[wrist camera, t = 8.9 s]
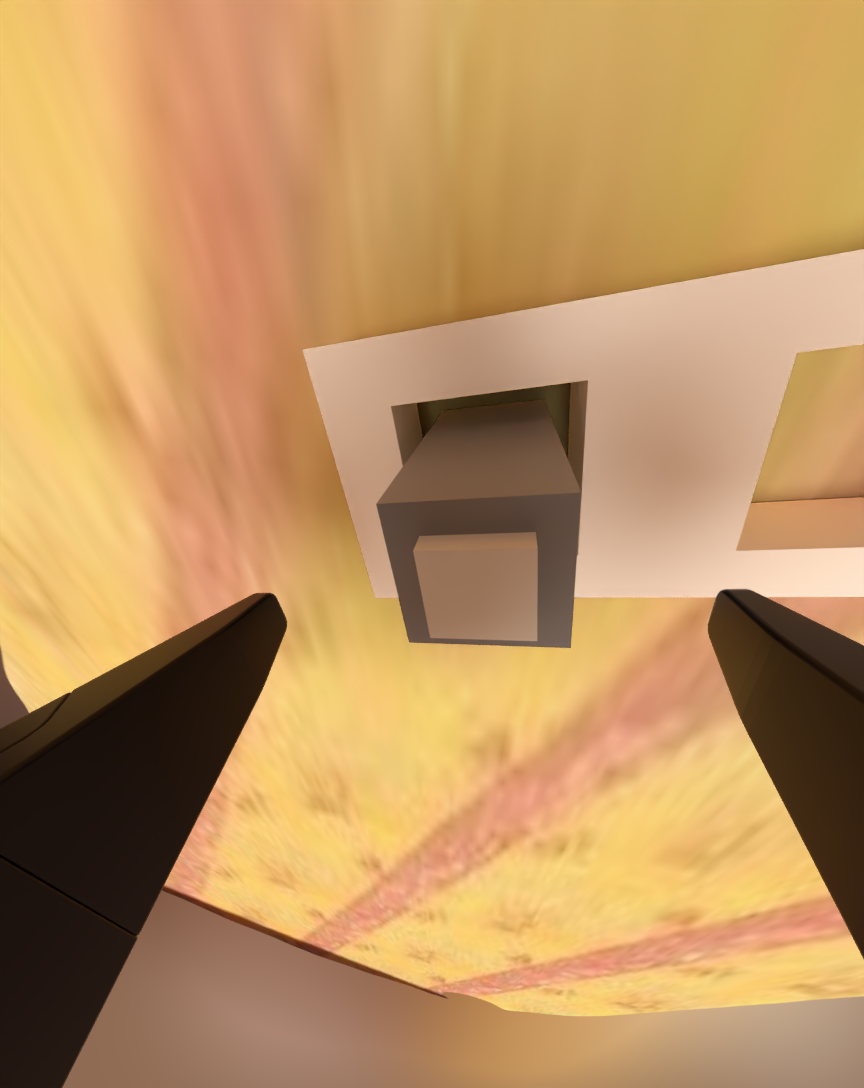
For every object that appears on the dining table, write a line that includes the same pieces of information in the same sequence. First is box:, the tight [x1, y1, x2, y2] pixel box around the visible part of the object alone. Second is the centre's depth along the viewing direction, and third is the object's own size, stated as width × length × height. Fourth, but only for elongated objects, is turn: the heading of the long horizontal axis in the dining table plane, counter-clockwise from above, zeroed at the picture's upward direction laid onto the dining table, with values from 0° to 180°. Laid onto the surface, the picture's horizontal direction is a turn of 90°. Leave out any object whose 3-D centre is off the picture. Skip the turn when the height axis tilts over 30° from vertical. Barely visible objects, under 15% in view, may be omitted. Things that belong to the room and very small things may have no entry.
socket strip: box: [303, 249, 864, 598], centre depth 13 cm, size 22×10×4 cm, turn 99°
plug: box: [376, 399, 581, 648], centre depth 12 cm, size 4×4×10 cm
